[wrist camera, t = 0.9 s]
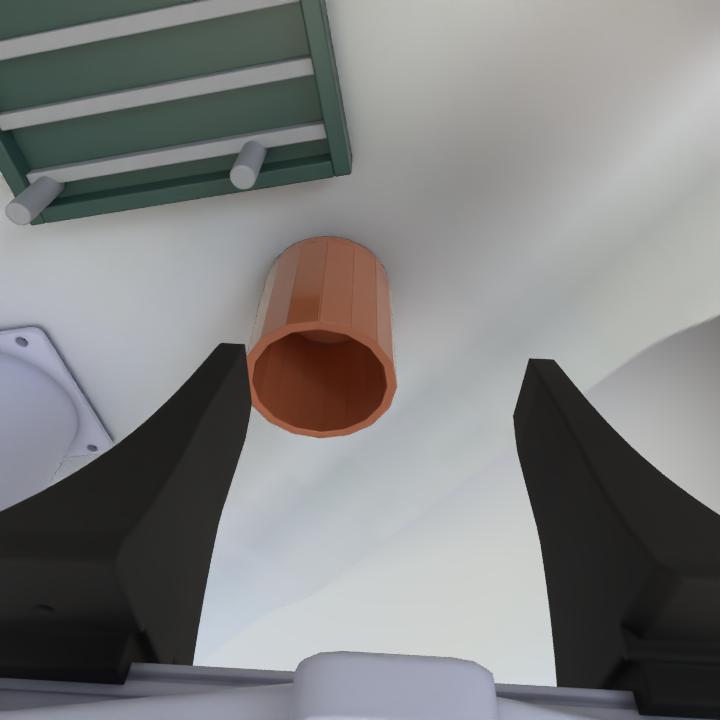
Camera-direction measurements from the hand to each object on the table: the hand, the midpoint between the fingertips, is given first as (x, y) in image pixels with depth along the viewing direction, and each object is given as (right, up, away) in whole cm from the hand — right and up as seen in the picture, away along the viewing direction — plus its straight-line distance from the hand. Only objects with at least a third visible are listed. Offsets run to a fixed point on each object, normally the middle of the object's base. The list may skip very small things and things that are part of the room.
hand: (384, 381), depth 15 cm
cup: (-2, +3, +10) cm, 11 cm away
